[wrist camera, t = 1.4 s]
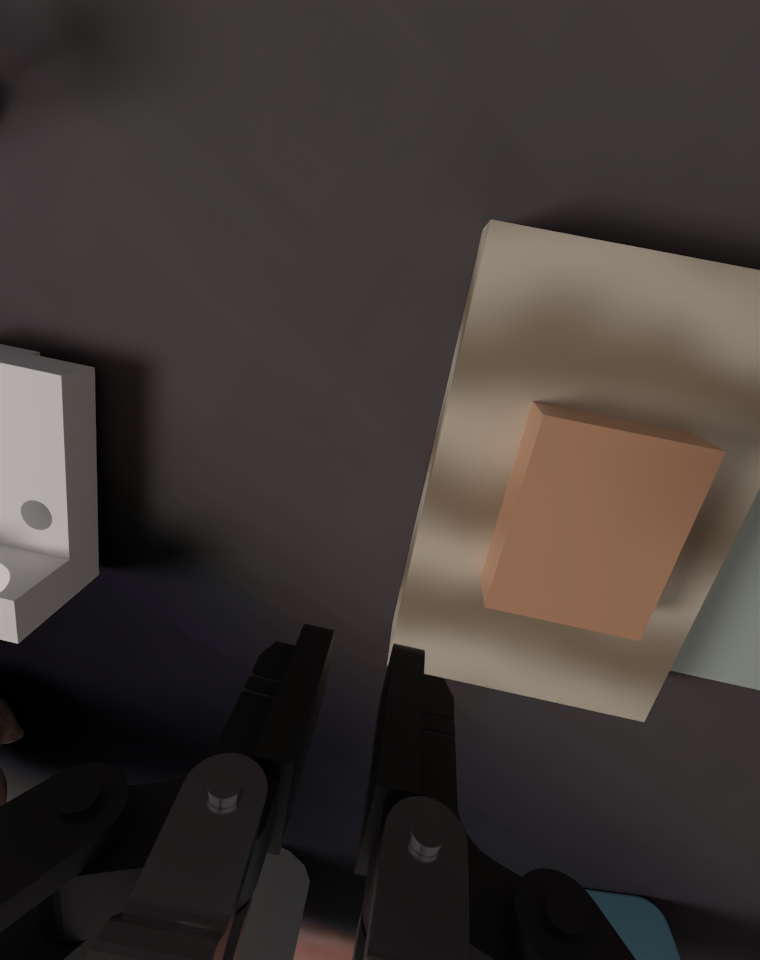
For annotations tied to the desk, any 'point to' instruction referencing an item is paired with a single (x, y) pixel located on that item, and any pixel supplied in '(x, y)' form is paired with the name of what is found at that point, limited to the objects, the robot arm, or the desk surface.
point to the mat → (729, 616)
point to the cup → (275, 909)
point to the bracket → (45, 487)
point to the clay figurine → (7, 740)
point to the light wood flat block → (590, 388)
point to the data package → (638, 925)
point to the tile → (595, 519)
